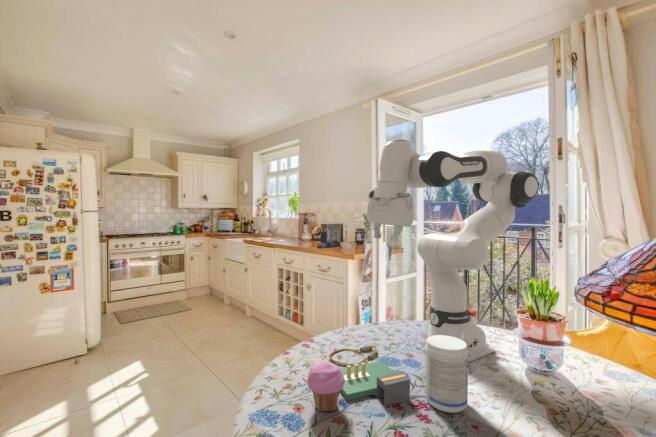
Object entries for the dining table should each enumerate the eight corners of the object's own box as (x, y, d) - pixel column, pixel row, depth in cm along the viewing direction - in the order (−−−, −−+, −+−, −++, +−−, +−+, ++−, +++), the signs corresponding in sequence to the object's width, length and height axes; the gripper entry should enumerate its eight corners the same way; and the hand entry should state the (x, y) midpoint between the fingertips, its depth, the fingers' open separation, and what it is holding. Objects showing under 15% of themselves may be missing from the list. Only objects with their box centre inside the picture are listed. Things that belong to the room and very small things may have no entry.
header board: (381, 366, 94) (381, 351, 94) (405, 386, 83) (406, 369, 83) (328, 376, 88) (328, 360, 88) (347, 400, 77) (347, 382, 76)
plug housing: (400, 391, 81) (400, 371, 81) (409, 399, 77) (410, 379, 77) (376, 396, 78) (376, 376, 78) (385, 405, 75) (385, 384, 75)
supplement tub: (476, 412, 73) (477, 348, 73) (439, 417, 71) (440, 352, 70) (450, 389, 82) (452, 332, 82) (417, 393, 80) (418, 335, 80)
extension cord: (383, 368, 94) (383, 361, 94) (330, 368, 93) (330, 361, 93) (374, 350, 106) (375, 344, 106) (328, 350, 105) (328, 344, 105)
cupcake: (346, 418, 70) (347, 373, 70) (307, 419, 69) (308, 374, 69) (341, 394, 79) (342, 355, 79) (306, 396, 78) (307, 356, 78)
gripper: (422, 194, 86) (415, 244, 86) (382, 196, 105) (377, 237, 105) (402, 190, 84) (396, 242, 83) (365, 193, 103) (360, 235, 102)
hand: (385, 240), depth 94 cm, fingers open, 8 cm apart
